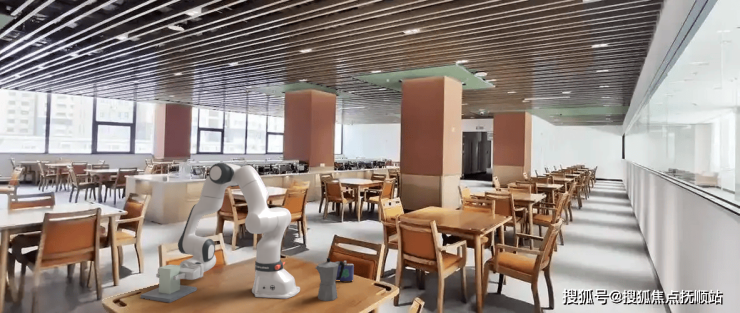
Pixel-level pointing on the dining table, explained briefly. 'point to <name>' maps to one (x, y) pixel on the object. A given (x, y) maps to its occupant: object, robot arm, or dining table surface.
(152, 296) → the board
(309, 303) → the dining table surface
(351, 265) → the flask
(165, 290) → the cover
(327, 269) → the coffeepot
